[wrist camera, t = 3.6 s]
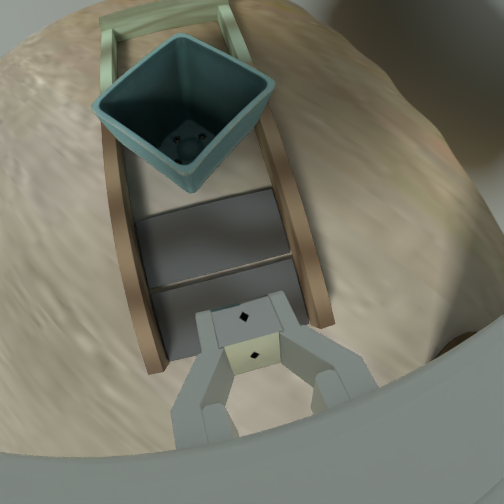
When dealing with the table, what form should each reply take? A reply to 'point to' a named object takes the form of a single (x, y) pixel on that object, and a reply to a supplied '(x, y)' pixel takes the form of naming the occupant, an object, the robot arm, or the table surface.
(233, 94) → the flower pot
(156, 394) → the table surface
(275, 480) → the robot arm
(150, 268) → the channel
